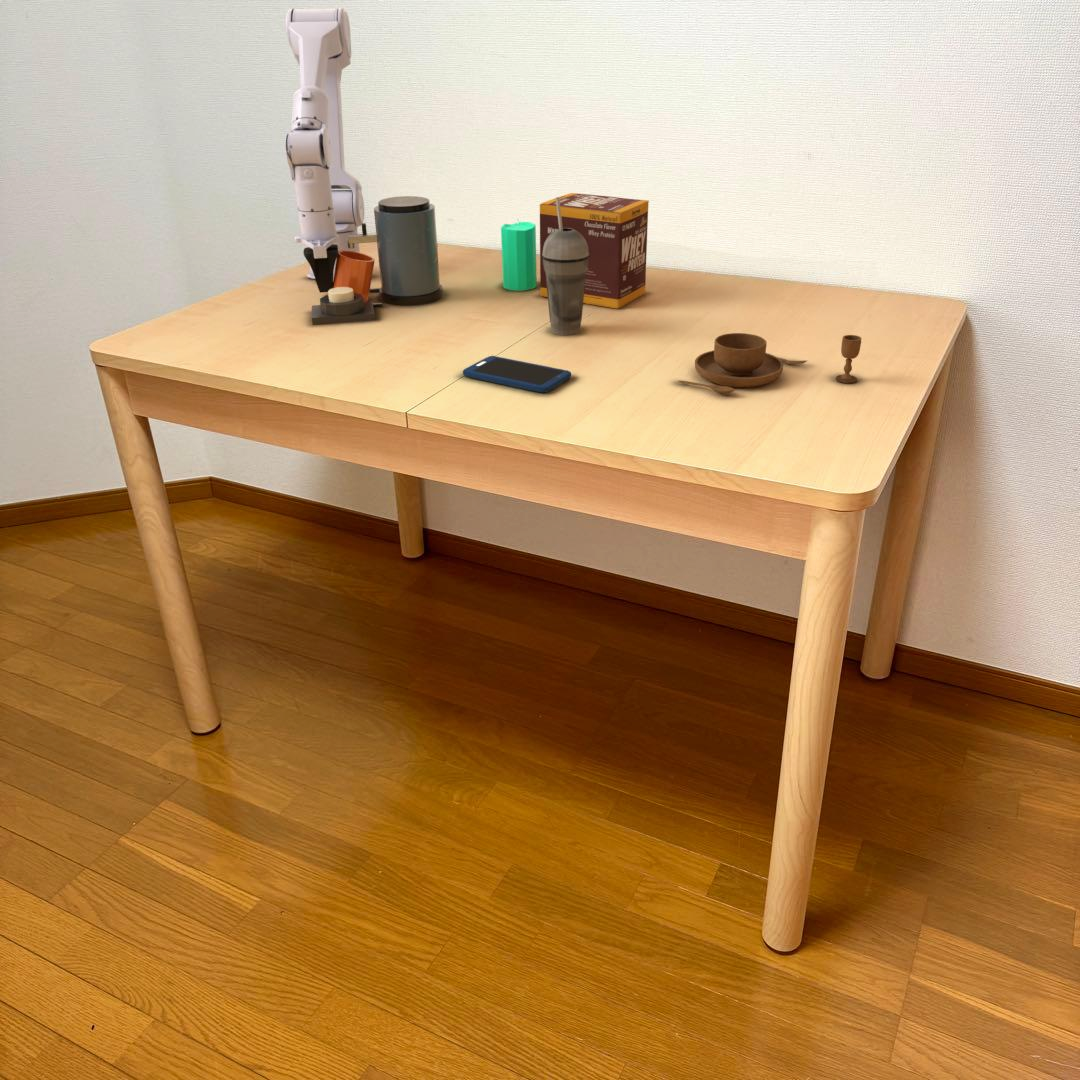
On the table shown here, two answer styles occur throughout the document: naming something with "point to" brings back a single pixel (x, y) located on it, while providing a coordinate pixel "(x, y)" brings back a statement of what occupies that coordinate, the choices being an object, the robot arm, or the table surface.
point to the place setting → (755, 362)
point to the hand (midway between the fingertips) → (325, 291)
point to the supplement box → (603, 244)
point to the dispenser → (405, 251)
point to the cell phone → (517, 374)
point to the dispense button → (341, 294)
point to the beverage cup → (565, 277)
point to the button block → (342, 311)
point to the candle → (519, 256)
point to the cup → (354, 272)
